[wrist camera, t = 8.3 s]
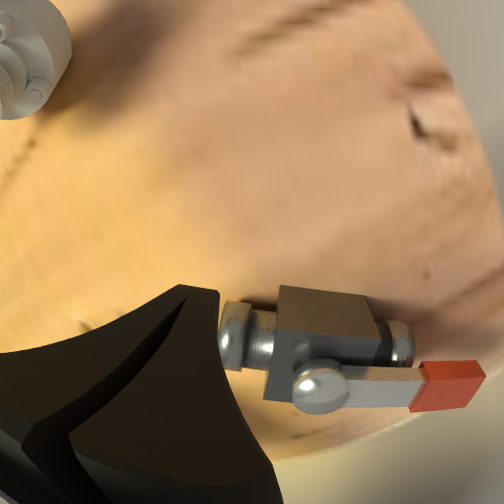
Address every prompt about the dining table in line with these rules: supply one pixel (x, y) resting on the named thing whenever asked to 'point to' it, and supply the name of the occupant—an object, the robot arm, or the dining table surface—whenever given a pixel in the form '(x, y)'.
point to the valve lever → (385, 386)
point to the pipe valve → (309, 336)
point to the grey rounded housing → (30, 55)
